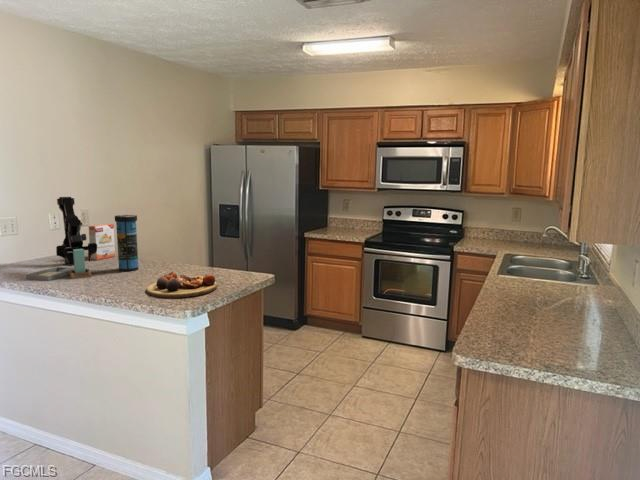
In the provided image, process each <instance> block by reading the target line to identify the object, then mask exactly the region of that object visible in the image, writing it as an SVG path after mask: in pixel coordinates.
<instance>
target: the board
mask: <svg viewBox="0 0 640 480" xmlns="http://www.w3.org/2000/svg"><path fill="white" fill-rule="evenodd" d="M72 270H74V267H67V266H54V267H50V268H46V269H43V270H39V271H35V272H32V273H27V274H25V279H26V280H35V281H36V280H38V281H54V280H56V279H60V278H62V277H63V278H64V277H66V276H69V271H72Z"/></svg>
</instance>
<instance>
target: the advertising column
mask: <svg viewBox="0 0 640 480" xmlns="http://www.w3.org/2000/svg"><path fill="white" fill-rule="evenodd" d="M137 221H138V215H136V214H119V215H114V222H115V224H116V225H115V226H116V240H117V257H118V259H117V260H118V272H122V273H130V272H131V273H132V272H136V271H138V270H139V253H138V252H139V251H138V232H137V231H138V230H137Z"/></svg>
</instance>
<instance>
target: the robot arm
mask: <svg viewBox="0 0 640 480" xmlns="http://www.w3.org/2000/svg"><path fill="white" fill-rule="evenodd" d="M56 204H57V206H58V209H59V210H60V211H61V213H62V217H63V219H62V220H63V228H64V239H63V241H62V244H61V245H56V248H55V251H56V257H59V258H63V260H64V263H62V265H64V266H65V265H66V266H74V258H73V249H84V251H87V258H88V262H89V263H90V262H91V259H90V258H91V255H92V254H94V253H96V252H97V244H96V243H87V245H84V241H87V234H86V233H81V228H82V226H83V222H82V220H80V219H79V217H78V215H76V213H75V210H74V205H75V198H74V197H72V196H59V197H58V198H56ZM83 245H84V246H83Z"/></svg>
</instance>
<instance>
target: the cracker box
mask: <svg viewBox="0 0 640 480" xmlns="http://www.w3.org/2000/svg"><path fill="white" fill-rule="evenodd" d="M114 227H115V225H114V223H102V224H93V225H88V236H89V237H88V238H89V239H88V241H89V243H96V244H97V252H96V253H94V254H92V255H91V258H90V260H93V261H100V260H105V259H110V258H114V257H116V250H115V247H116V246H115V228H114Z"/></svg>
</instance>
